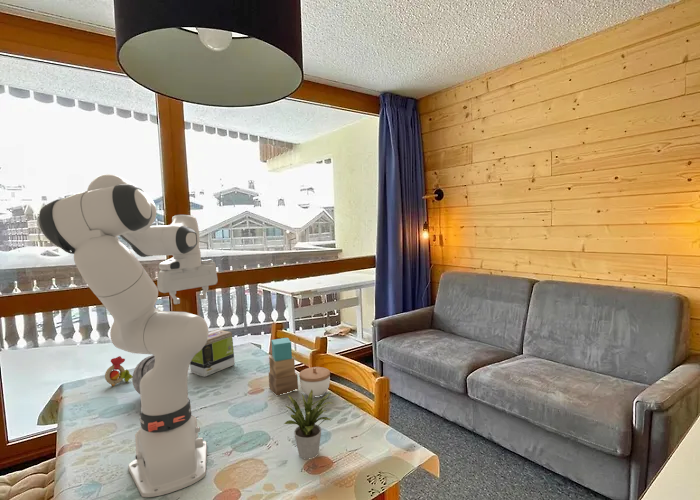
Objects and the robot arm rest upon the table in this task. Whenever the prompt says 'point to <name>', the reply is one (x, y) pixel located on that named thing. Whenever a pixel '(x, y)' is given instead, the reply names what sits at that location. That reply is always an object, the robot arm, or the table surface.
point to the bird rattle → (117, 372)
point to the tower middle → (282, 367)
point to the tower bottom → (283, 384)
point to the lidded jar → (315, 380)
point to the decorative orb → (142, 371)
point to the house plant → (308, 425)
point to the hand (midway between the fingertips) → (190, 301)
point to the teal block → (281, 349)
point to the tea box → (214, 354)
